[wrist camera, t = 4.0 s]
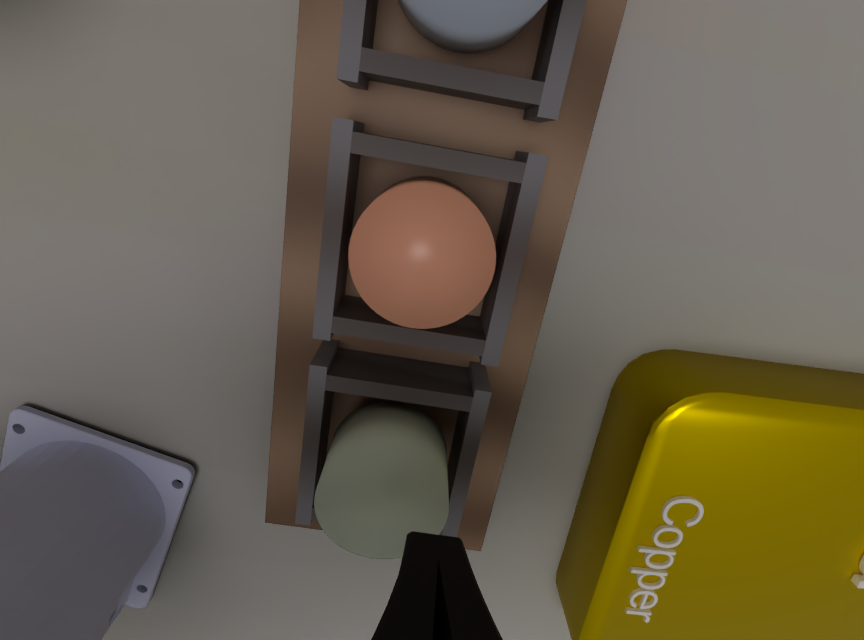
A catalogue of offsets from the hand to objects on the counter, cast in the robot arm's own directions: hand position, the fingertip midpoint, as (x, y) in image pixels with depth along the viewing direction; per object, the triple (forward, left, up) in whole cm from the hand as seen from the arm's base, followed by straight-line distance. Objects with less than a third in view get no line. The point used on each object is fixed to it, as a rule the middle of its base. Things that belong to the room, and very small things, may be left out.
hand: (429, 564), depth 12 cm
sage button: (-2, +1, -6) cm, 7 cm away
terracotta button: (+6, +3, -8) cm, 10 cm away
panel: (+6, +3, -9) cm, 12 cm away
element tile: (0, -16, -10) cm, 19 cm away
